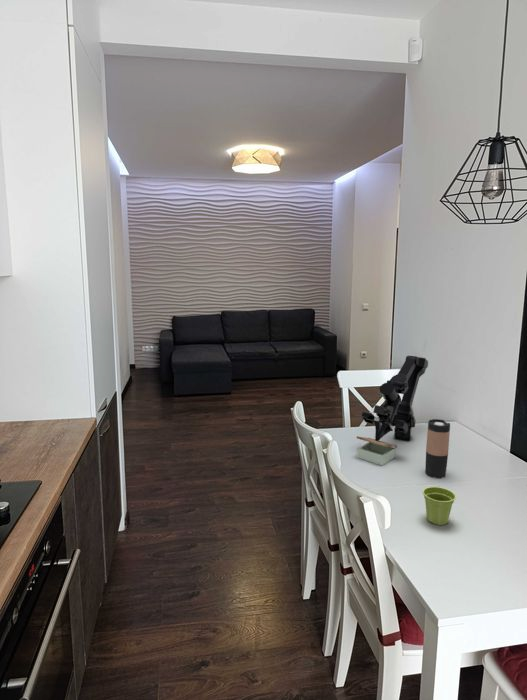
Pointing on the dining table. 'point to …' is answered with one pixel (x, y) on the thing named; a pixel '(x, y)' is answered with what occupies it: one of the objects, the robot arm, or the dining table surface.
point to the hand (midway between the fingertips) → (376, 440)
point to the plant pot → (438, 504)
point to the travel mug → (437, 448)
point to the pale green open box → (376, 453)
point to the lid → (376, 442)
